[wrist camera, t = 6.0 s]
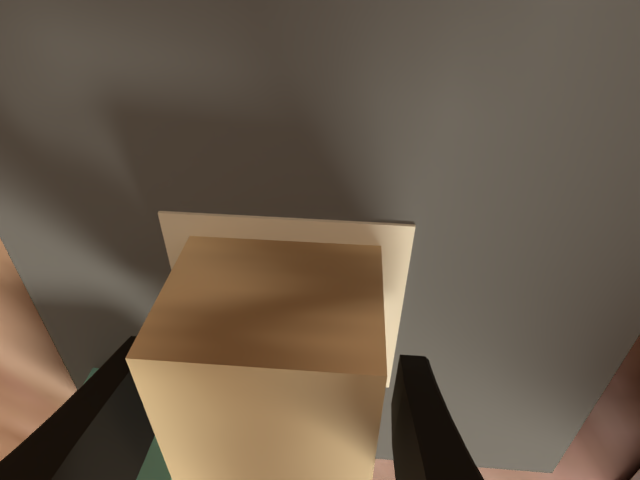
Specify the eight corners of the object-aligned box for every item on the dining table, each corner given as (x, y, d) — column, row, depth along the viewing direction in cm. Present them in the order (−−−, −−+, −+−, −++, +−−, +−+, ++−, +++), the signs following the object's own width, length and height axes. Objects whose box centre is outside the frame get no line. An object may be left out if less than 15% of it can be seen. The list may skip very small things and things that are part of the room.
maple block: (381, 245, 12) (387, 376, 8) (367, 369, 15) (369, 500, 11) (189, 236, 12) (125, 358, 9) (214, 359, 15) (173, 484, 12)
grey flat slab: (908, -119, 7) (933, -121, 7) (549, 465, 18) (553, 475, 18) (-171, -130, 8) (-192, -132, 8) (104, 428, 19) (99, 438, 19)
